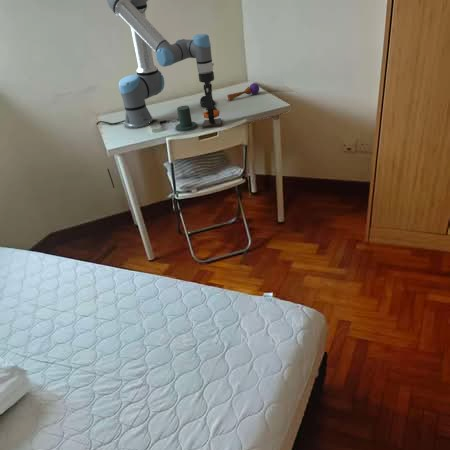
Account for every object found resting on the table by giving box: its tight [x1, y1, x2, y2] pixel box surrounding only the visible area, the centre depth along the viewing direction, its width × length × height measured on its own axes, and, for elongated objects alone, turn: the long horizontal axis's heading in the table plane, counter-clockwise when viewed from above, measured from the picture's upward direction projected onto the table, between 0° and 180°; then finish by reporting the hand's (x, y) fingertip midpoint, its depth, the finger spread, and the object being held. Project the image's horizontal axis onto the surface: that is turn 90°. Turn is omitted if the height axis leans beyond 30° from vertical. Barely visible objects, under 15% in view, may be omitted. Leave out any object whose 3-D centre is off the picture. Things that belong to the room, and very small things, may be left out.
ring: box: [203, 109, 220, 120], centre depth 215 cm, size 8×8×2 cm
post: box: [203, 107, 222, 129], centre depth 214 cm, size 9×9×14 cm
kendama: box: [226, 82, 260, 102], centre depth 246 cm, size 6×6×20 cm
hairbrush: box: [199, 94, 218, 111], centre depth 239 cm, size 8×4×25 cm
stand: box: [175, 105, 198, 132], centre depth 216 cm, size 11×11×10 cm
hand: (212, 119), depth 217 cm, fingers open, 9 cm apart
